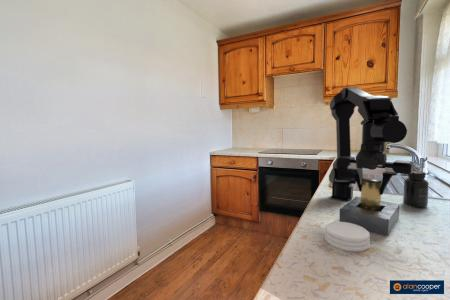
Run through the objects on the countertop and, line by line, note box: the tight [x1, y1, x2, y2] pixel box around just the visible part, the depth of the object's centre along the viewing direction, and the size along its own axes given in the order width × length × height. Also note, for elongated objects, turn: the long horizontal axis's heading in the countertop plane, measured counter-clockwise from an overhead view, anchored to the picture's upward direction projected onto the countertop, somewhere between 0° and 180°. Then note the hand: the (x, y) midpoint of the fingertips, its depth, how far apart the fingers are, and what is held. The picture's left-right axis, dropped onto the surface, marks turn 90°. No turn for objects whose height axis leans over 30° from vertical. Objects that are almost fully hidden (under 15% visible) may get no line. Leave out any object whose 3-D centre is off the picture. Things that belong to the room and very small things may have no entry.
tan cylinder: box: [360, 177, 382, 212], centre depth 70 cm, size 5×5×10 cm
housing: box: [338, 196, 401, 237], centre depth 71 cm, size 12×16×4 cm
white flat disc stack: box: [324, 221, 371, 253], centre depth 59 cm, size 10×10×4 cm
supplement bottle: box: [402, 170, 430, 209], centre depth 83 cm, size 7×7×12 cm
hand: (370, 192), depth 70 cm, fingers closed on tan cylinder, 5 cm apart
